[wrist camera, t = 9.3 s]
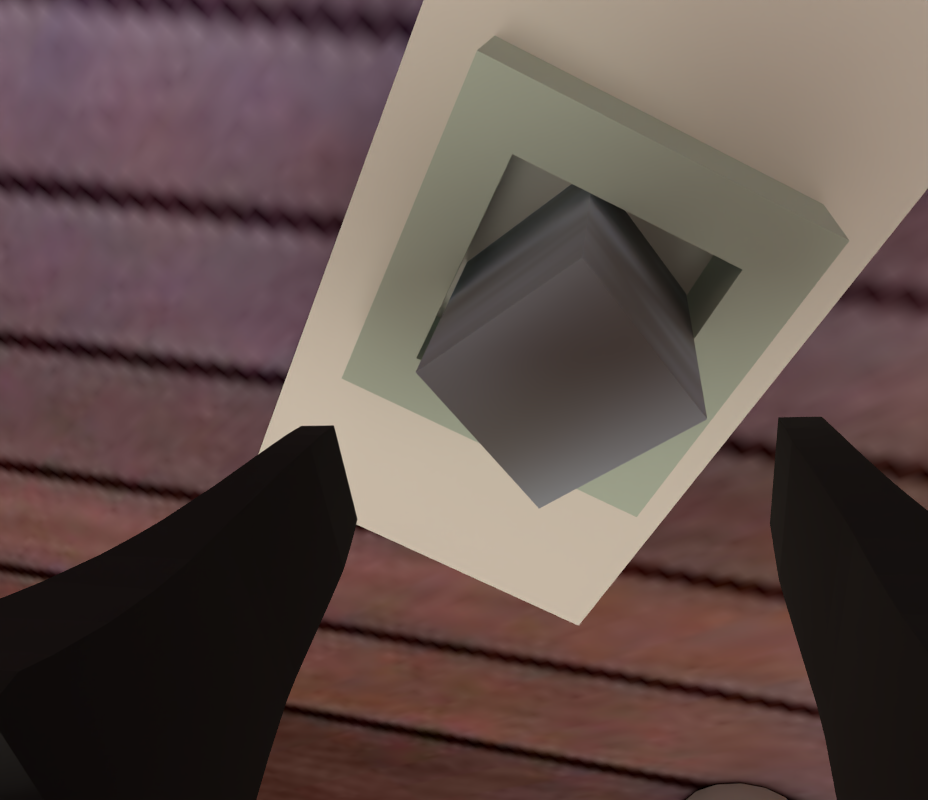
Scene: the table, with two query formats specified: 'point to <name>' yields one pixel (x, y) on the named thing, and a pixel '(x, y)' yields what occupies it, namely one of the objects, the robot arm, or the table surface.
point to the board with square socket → (646, 202)
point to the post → (567, 347)
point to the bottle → (735, 793)
